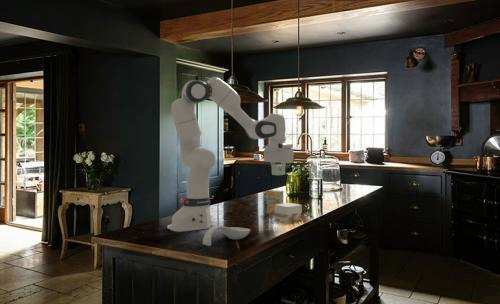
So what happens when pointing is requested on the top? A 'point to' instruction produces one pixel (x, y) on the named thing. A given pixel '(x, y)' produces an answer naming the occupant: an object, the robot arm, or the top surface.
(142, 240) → the top surface
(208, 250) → the top surface
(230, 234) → the white curved spoon
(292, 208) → the tower top
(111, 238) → the top surface
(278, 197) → the supplement box
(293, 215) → the block
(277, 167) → the sage cube
